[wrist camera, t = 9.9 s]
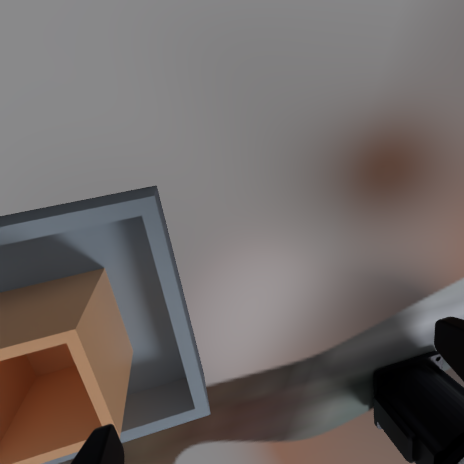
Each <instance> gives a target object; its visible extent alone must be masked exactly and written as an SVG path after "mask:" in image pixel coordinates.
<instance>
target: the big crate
mask: <svg viewBox="0 0 464 464" xmlns="http://www.w3.org/2000/svg"><path fill="white" fill-rule="evenodd" d="M102 268H105V270H106V273H107V276H108V279H109V282H110V285H111V288H112V291H113V294H114V296H115V299H116V302H117V305H118V308H119V311H120V314H121V317H122V320H123V323H124V326H125V329H126V331H127V334H128V337H129V340H130V343H131V346H132V349H133V356H132V363H131V369H130V376H129V382H128V389H127V396H126V402H125V409H124V415H123V422H122V429H121V435H120V441H121V443H123V442H126V441H130V440H133V439H136V438H139V437H142V436H145V435H148V434H151V433H154V432H157V431H161V430H164V429H167V428H170V427H173V426H176V425H179V424H182V423H185V422H188V421H192V420H195V419H198V418H201V417H204V416H207V415H210V409H209V403H208V397H207V391H206V385H205V379H204V373H203V369H202V365H201V361H200V357H199V353H198V349H197V345H196V341H195V337H194V333H193V329H192V326H191V321H190V317H189V313H188V310H187V305H186V301H185V298H184V294H183V289H182V285H181V281H180V277H179V273H178V270H177V265H176V261H175V257H174V253H173V249H172V245H171V242H170V238H169V233H168V229H167V225H166V221H165V218H164V214H163V209H162V206H161V201H160V197H159V194H158V189H157V186H152V187H146V188H142V189H137V190H131V191H126V192H121V193H117V194H111V195H106V196H102V197H96V198H92V199H86V200H81V201H76V202H71V203H66V204H61V205H56V206H51V207H46V208H40V209H36V210H30V211H25V212H20V213H15V214H11V215H5V216H0V293H1V292H5V291H9V290H14V289H18V288H22V287H26V286H30V285H35V284H39V283H43V282H47V281H52V280H56V279H60V278H64V277H68V276H73V275H77V274H81V273H85V272H90V271H94V270H98V269H102ZM77 453H78V452H76V453H73V454H70V455H66V456H63V457H60V458H57V459H54V460H51V461H48V462H45V463H42V464H58V463H61V462H64V461H67V460H71V459H74V457H75V456H76V455H77Z"/></svg>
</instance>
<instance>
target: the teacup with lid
mask: <svg viewBox="0 0 464 464" xmlns="http://www.w3.org/2000/svg"><path fill="white" fill-rule="evenodd" d="M71 462H72V460H67V461H64V462H61V463H58V464H70V463H71Z"/></svg>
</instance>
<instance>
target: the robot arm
mask: <svg viewBox="0 0 464 464" xmlns="http://www.w3.org/2000/svg"><path fill="white" fill-rule="evenodd" d="M434 345H435V348H436V350H437V351H434V352H431V353H428V354H425V355H422V356H419V357H416V358H412V359H409V360H406V361H403V362H400V363H397V364H394V365H391V366H388V367H385V368H382V369H379V370H377V371H376V372H375V373H374V423H375V425H376V426H377V428H379V429H383V430H384V432H385V433H386V434H387V435H388V437H389V438H390V440H391V441H392V442H393V443H394V445H395V446H396V447H397V449H398V450H399V451H400V453H401V454H402V455H403V457H404V458H405V459H406V460H407V461H408V462H409V463H413V462H415V463H416V464H464V387H462V386H461V385H460V384H459V383H457V382H456V381H455V380H454V379H453V378H451V377H450V376H449V375H448V374H446V373H445V372H444V371H443V370H442V366H443V359H444V360H445V361H446V362H447V363H448V364H449V365H450V367H451V368H452V369H453V370H454V371H455V372H456V373H457V375H458V376H459V377H460V378H461V379H462V380H463V381H464V320H463V319H459V318H455V317H446V318H443V319H440V320H438V321H437V322H436V323H435V337H434ZM70 464H124V449H123V446H122V443H121V441H120V438H119V436H118V434H117V431H116V429H115V427H114V425H113V424H107V425H104V426H101V427H98V428H96V429H94V430H93V431H92V433H91V434H90V435H89V437H88V438H87V440H86V441H85V443H84V444H83V446H82V447H81V449H80V450H79V452H78V453H77V455H76V456H75V457H74V459H73V460H72V462H71V463H70Z"/></svg>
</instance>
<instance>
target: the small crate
mask: <svg viewBox="0 0 464 464" xmlns="http://www.w3.org/2000/svg"><path fill="white" fill-rule="evenodd" d="M132 356H133V349H132V346H131V343H130V340H129V337H128V334H127V331H126V329H125V326H124V323H123V320H122V317H121V314H120V311H119V308H118V305H117V302H116V299H115V296H114V294H113V291H112V288H111V285H110V282H109V279H108V276H107V273H106V270H105V268H102V269H98V270H94V271H90V272H85V273H81V274H77V275H73V276H68V277H64V278H60V279H56V280H52V281H47V282H43V283H39V284H35V285H30V286H26V287H22V288H18V289H14V290H9V291H5V292H1V293H0V464H42V463H45V462H48V461H51V460H54V459H57V458H60V457H63V456H66V455H70V454H73V453H76V452H79V450H80V449H81V447H82V446H83V444H84V443H85V441H86V440H87V438H88V437H89V435H90V434H91V433H92V431H93V430H94V429H96V428H98V427H101V426H104V425H107V424H113V425H114V427H115V429H116V431H117V434H118V436H119V438H120V435H121V429H122V422H123V415H124V409H125V402H126V396H127V389H128V382H129V376H130V369H131V363H132Z"/></svg>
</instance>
